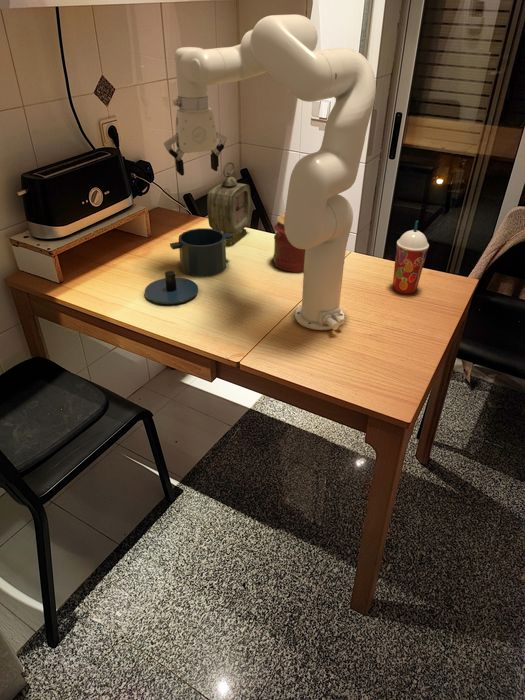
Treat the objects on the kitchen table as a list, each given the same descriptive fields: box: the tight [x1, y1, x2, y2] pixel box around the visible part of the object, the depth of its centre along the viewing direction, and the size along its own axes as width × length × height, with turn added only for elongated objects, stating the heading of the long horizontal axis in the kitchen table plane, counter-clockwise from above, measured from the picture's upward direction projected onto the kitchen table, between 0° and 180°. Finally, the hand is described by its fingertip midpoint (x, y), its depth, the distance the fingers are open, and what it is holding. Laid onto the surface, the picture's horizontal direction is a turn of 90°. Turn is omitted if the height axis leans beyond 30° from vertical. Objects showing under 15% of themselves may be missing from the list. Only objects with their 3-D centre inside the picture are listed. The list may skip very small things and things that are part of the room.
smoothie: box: [392, 220, 430, 294], centre depth 141 cm, size 8×8×20 cm
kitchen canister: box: [273, 212, 306, 273], centre depth 155 cm, size 13×13×18 cm
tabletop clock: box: [206, 161, 252, 246], centre depth 169 cm, size 14×9×25 cm, turn 155°
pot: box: [169, 227, 234, 278], centre depth 155 cm, size 14×19×10 cm
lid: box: [144, 270, 199, 305], centre depth 142 cm, size 15×15×6 cm
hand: (197, 172), depth 141 cm, fingers open, 9 cm apart
